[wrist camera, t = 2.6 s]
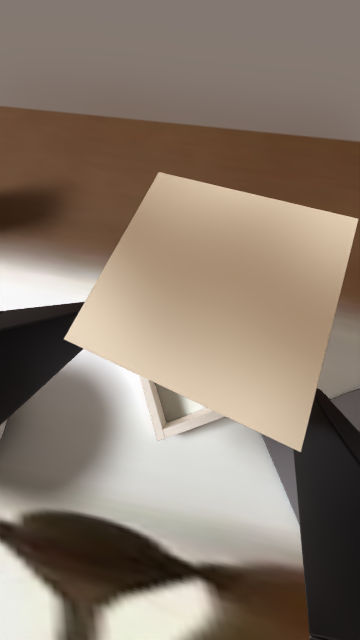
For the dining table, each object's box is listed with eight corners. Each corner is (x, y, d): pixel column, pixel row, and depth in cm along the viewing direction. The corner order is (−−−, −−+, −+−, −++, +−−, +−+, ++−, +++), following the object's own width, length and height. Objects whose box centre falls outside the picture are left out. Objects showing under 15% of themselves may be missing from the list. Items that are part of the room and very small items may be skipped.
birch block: (217, 384, 16) (300, 452, 3) (165, 361, 16) (63, 339, 4) (236, 331, 17) (358, 219, 4) (186, 312, 17) (158, 172, 5)
